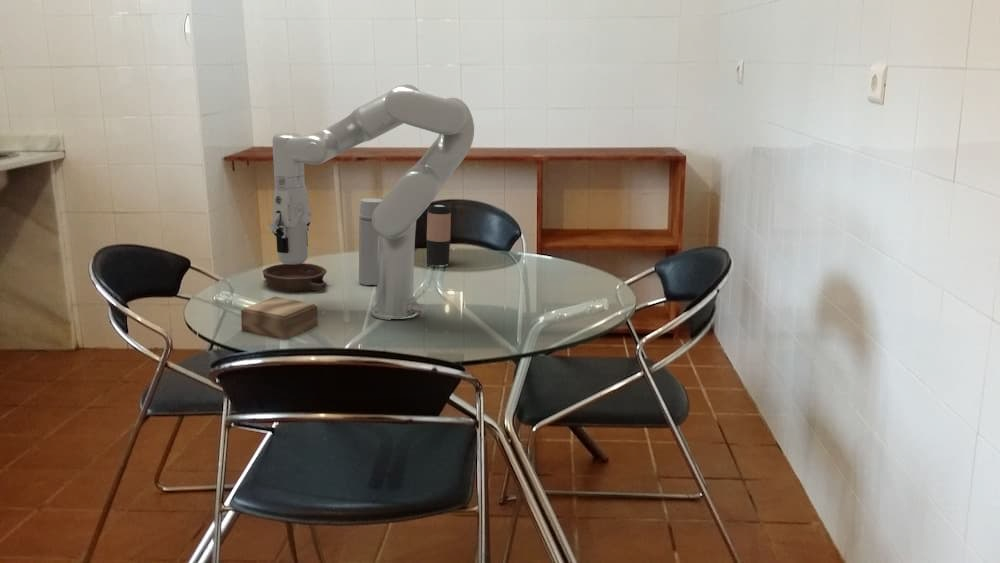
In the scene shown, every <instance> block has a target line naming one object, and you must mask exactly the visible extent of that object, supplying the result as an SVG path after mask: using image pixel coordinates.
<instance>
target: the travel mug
mask: <svg viewBox="0 0 1000 563" xmlns="http://www.w3.org/2000/svg"><path fill="white" fill-rule="evenodd" d="M426 217H427V218H426V265H427V264H429V265H445V264H448V263H450V248H451V229H452V228H451V225H452V224H451V219H452V205H451V204H450V203H445V202H431V204H430V205H429V206H428V207H427V216H426Z"/></svg>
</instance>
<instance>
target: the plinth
mask: <svg viewBox="0 0 1000 563" xmlns="http://www.w3.org/2000/svg"><path fill="white" fill-rule="evenodd" d="M318 308H319V307H318V305H315V303H313V302H306V301H302V300H297V299H291V298H287V297H286V298H285V297H280V296H273V297H270V298H267V299H265V300H262V301H260V302H257V303H254V304H251V305H249V306H247V307H244V308H243V309H242V310H241V311H240V318H241V319H240V320H241V331H245V332H248V333H253V334H258V335H263V336H269V337H272V338H276V339H281V340H288V339H290V338H292V337H294V336H296V335H298V334H302V333H303V332H306V331H308V330H310V329H311V328H314V327H316V326H318V321H319V318H318V316H319V314H318Z"/></svg>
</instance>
